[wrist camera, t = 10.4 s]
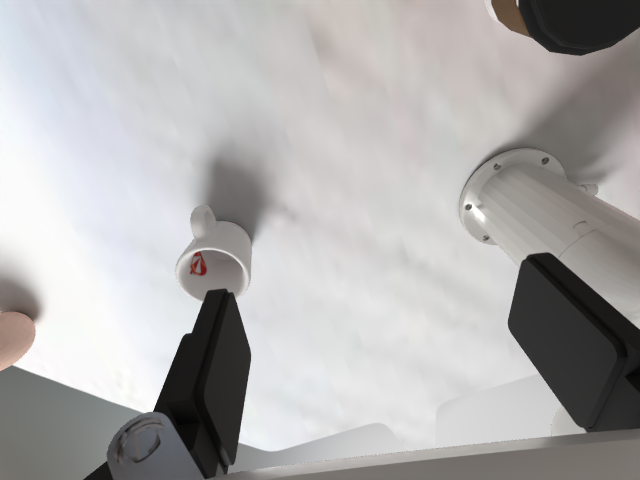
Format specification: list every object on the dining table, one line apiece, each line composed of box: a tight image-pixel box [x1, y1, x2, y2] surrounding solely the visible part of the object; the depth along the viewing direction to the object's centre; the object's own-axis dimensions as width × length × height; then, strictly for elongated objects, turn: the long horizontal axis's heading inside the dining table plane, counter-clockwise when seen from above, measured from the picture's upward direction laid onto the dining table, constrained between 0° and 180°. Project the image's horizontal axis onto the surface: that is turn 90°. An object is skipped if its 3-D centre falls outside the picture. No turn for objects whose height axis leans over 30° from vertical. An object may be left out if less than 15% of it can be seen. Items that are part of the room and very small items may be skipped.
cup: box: [175, 205, 252, 303], centre depth 40 cm, size 11×8×8 cm
